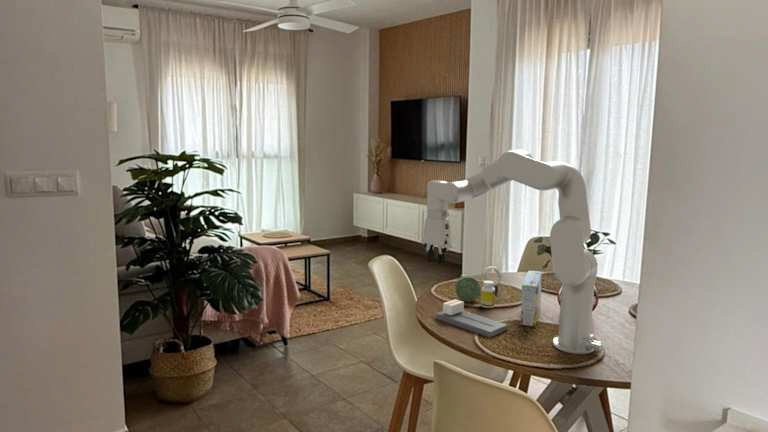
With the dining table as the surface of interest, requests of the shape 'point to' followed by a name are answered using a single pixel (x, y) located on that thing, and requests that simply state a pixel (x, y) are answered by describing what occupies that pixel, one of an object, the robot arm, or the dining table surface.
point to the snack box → (531, 298)
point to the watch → (497, 274)
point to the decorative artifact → (467, 288)
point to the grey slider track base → (473, 323)
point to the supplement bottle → (487, 294)
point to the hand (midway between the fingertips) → (435, 262)
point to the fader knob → (453, 307)
